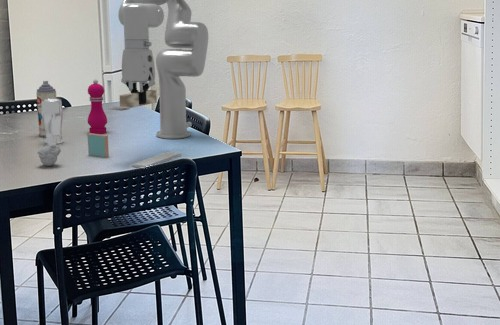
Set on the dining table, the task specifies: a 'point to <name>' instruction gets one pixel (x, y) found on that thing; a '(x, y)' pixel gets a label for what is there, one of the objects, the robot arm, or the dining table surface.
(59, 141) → the beer glass
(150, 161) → the board
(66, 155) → the dining table surface
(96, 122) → the pepper mill
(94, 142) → the tile
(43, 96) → the aerosol can
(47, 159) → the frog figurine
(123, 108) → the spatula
